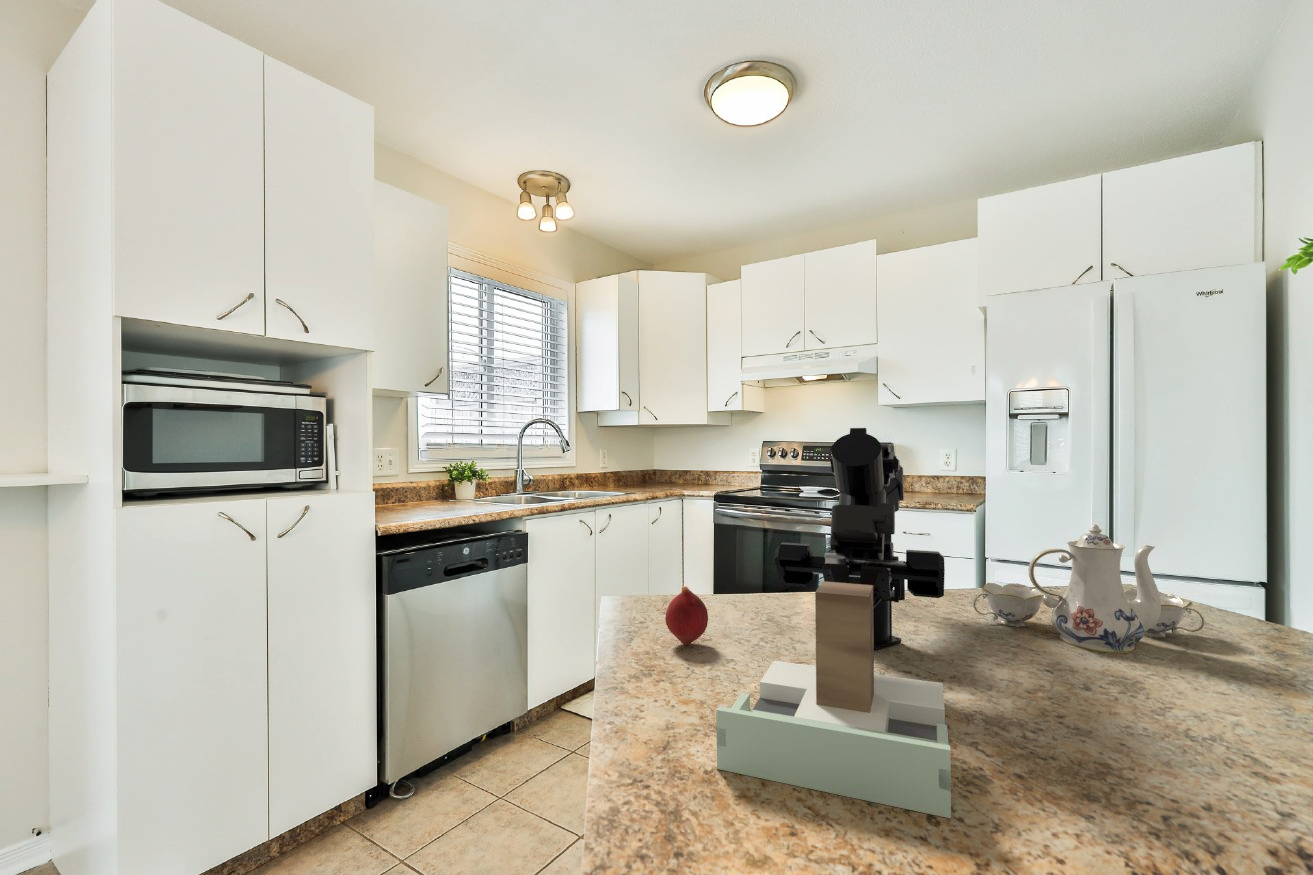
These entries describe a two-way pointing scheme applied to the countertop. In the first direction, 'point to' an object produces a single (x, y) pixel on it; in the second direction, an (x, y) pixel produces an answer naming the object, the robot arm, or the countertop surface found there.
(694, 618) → the onion
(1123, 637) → the chinaware
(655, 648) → the countertop surface
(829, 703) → the walnut block
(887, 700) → the box
